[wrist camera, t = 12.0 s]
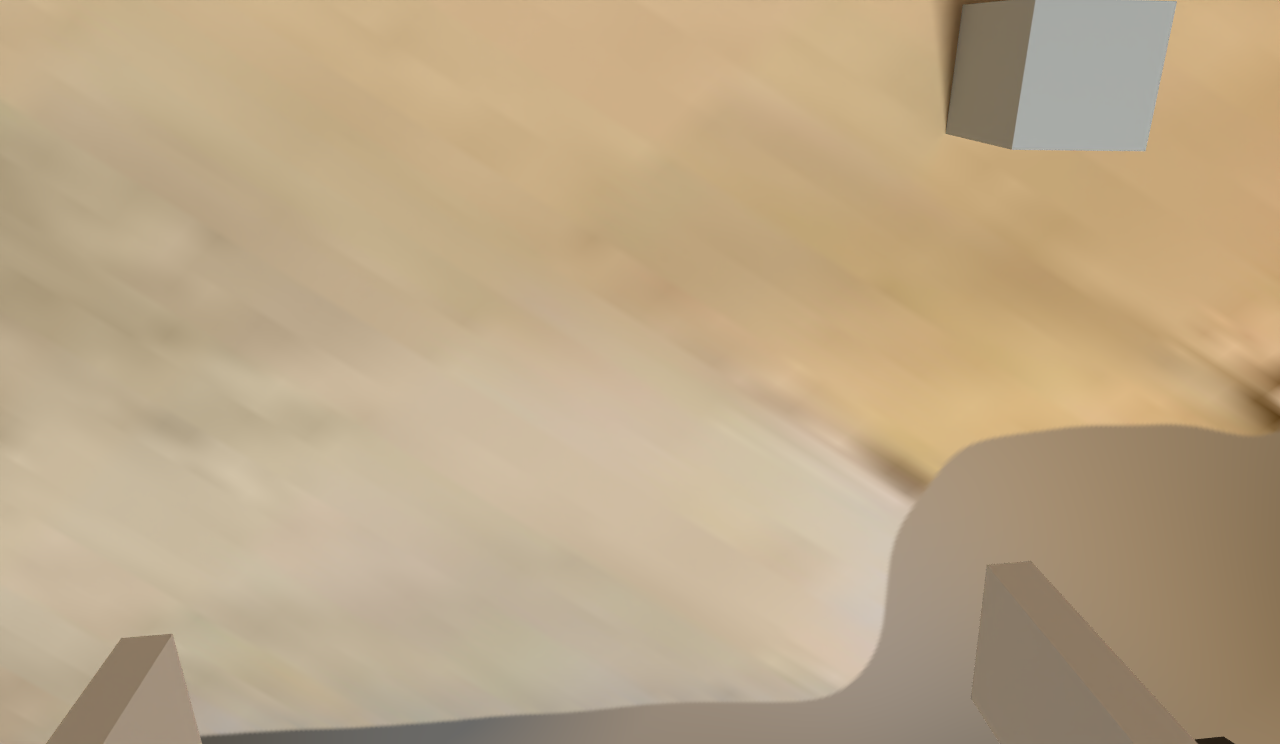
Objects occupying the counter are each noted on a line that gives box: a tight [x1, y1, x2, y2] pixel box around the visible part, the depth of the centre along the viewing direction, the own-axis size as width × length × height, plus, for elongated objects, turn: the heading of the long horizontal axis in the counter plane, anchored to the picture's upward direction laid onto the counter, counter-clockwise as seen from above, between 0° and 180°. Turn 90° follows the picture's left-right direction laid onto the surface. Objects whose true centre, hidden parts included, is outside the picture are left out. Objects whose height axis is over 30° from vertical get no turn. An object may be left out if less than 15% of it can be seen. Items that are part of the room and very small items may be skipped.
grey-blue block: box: [946, 0, 1177, 151], centre depth 34 cm, size 5×5×6 cm
